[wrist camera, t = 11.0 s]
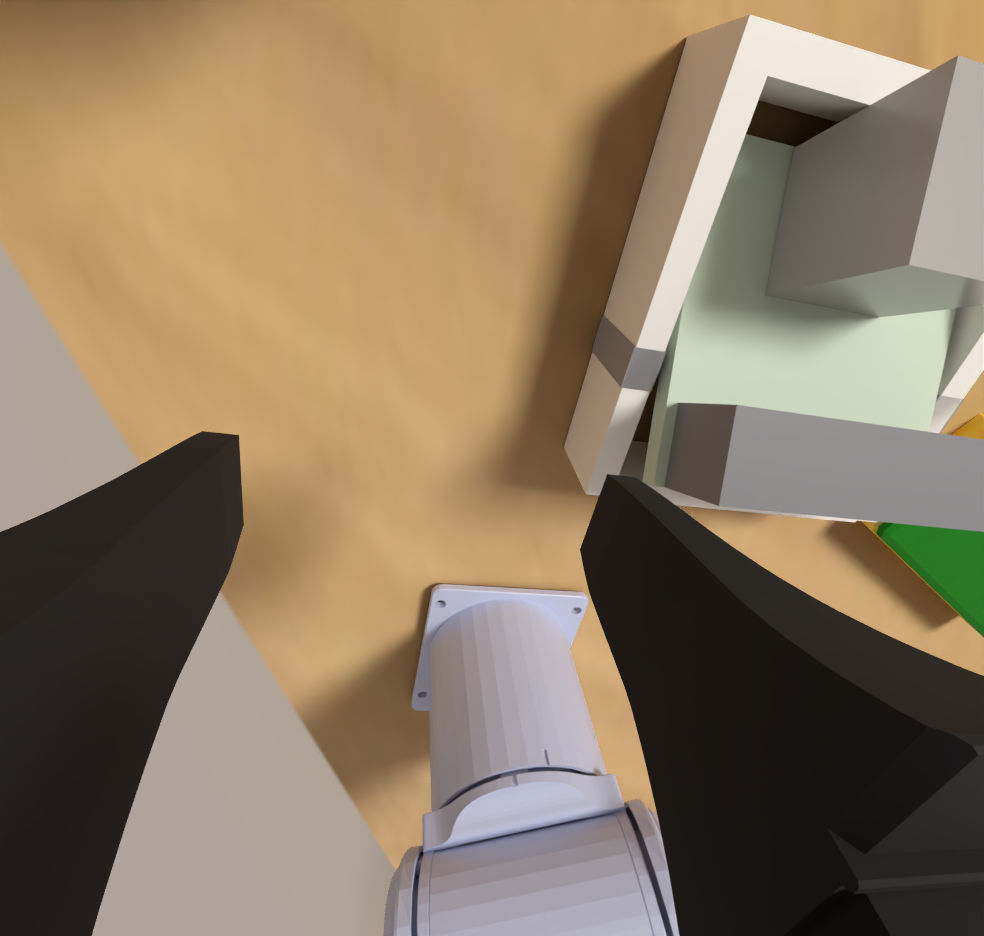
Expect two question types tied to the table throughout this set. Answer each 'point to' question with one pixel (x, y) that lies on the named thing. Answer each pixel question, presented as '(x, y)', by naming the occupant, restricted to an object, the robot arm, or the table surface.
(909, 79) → the trapdoor frame
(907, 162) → the grey block
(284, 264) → the table surface
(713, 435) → the trapdoor
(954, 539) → the dish sponge
